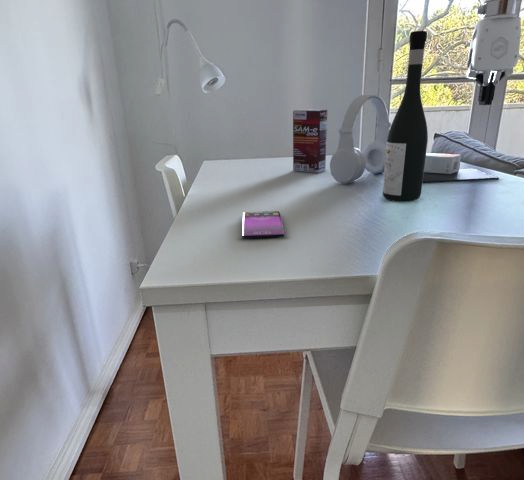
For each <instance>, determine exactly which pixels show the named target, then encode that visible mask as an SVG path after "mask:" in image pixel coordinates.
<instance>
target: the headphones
mask: <svg viewBox="0 0 524 480" xmlns="http://www.w3.org/2000/svg"><path fill="white" fill-rule="evenodd" d="M367 101H370V102H371V104H372V106H373V108H374V111H375V115H376V121H377V122H376V127H377V128H376V132H375V133H376V134H375V138H374V140H373V142H371V143H369V144H367V145H366V147H365V148H364V149H363V152H362V150H360V149H359V148H357V147H354V134H355V129H354V128H355V124H356V121H357V117H358V115H359V113H360V111H361V109H362V107H363V106H364V104H365V103H366V102H367ZM391 125H392V122H390V117H389V111H388V107H387V105H386V103H385V101H384V99H383V98H382V97H381V96H380V95H378V94H360V95H358V96H357V97H355V98H354V99H353V100H352V101H351V103H350V104H349V106H348V107H347V109H346V111H345V114H344V117H343V120H342V123H341V127H340V128H339V129H338V133H339V139H338V144H337V148H336V150H335V152H333V154H332V156H331V158H330V161H329V171H330V174H331V176H332V178H333V180H335V181H336V182H337V183H340V184H343V185H346V184H351V183H353V182H355V181H357V180H358V179H360V178H361V177H362V176H363V174H364V173H365V170H366V171H367V172H369V173H371V174H373V175H374V174H375V175H377V174H384V169H385V157H386V146H387V139H388V134H389V131H390V127H391Z"/></svg>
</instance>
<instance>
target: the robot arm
mask: <svg viewBox="0 0 524 480" xmlns="http://www.w3.org/2000/svg"><path fill="white" fill-rule="evenodd" d="M519 6H520V0H481V3H480V5H479V6H476V7H475V9H474V14H475V15H479V16H478V18H479V20H477V21H476V23H475V26H474V29H473V32H472V36H471V40H470V45H469V49H468V55H467V62H466V69H467V70H466V74H465V77H466V78H467V79H473V80H474V81H475V82H476V83H477V86H479V91H478V97H477V101H478V106H491V105H492V103H493V100H494V98H495V93H496V87H497V85H499V82H500V81H502V79H503V78H505V77H509V76H511V75H513V74H514V69H515V67H516V66H517V65H518V62H519V56H520V55H519V54H520V48H521V47H520V46H521V37H522V35H521V34H522V20H521V18H522V17H521V16H518V11H519Z"/></svg>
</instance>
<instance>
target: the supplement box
mask: <svg viewBox="0 0 524 480" xmlns="http://www.w3.org/2000/svg"><path fill="white" fill-rule="evenodd" d="M327 135H328V109H304V108H303V109H295V110H293V111H292V147H293V149H292V153H293V154H292V171H293V172H301V173H302V172H303V173H304V172H305V173H316V174H320V173H322V172H326V166H327V165H326V161H327Z"/></svg>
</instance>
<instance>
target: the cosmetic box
mask: <svg viewBox="0 0 524 480" xmlns="http://www.w3.org/2000/svg"><path fill="white" fill-rule="evenodd" d="M461 160H462V154H452V153H435V152H433V153H432V152H426V159H425V167H424V172H426V173H439V174H452V173H455V172H458V171H459V169H461V168H460V167H461V162H462V161H461Z"/></svg>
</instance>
